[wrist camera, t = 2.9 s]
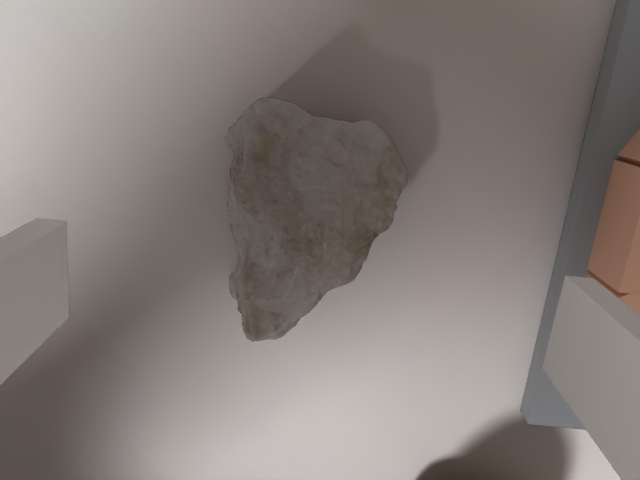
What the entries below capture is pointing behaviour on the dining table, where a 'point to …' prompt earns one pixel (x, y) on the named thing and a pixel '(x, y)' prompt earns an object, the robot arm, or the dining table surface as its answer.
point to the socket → (598, 207)
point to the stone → (304, 208)
